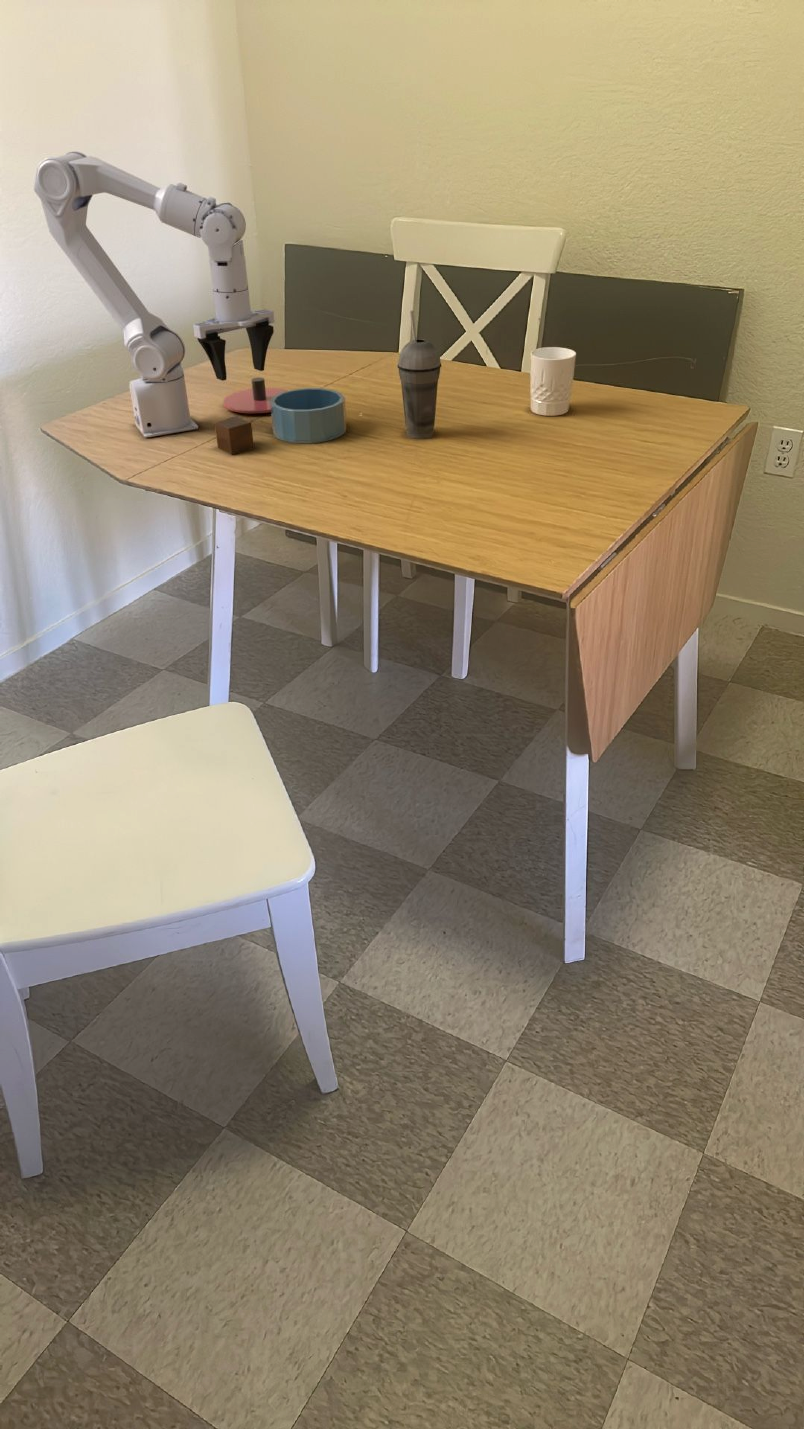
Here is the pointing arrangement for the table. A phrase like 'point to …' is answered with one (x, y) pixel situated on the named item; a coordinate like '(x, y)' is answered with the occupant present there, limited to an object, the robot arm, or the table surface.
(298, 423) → the bowl
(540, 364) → the white cup
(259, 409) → the lid
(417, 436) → the beverage cup
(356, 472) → the table surface
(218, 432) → the block
